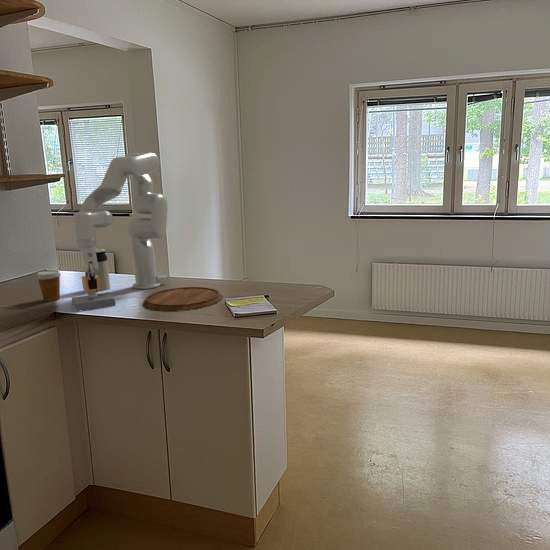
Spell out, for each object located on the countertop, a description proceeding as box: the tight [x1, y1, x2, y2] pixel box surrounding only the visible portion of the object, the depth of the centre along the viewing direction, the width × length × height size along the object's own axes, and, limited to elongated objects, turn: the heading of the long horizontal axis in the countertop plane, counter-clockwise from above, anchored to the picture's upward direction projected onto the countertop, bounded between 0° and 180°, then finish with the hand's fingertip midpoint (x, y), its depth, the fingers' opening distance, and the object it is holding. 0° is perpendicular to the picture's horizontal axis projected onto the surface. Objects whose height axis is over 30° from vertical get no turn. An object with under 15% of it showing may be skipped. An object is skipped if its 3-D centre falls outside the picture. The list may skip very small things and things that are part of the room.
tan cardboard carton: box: [81, 275, 101, 292], centre depth 216 cm, size 6×6×5 cm
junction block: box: [71, 290, 116, 312], centre depth 217 cm, size 15×12×10 cm
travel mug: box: [94, 248, 111, 291], centre depth 245 cm, size 8×8×18 cm
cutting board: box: [143, 286, 223, 312], centre depth 220 cm, size 32×32×2 cm
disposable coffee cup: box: [36, 269, 62, 302], centre depth 229 cm, size 10×10×12 cm
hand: (91, 287), depth 217 cm, fingers closed on tan cardboard carton, 5 cm apart
